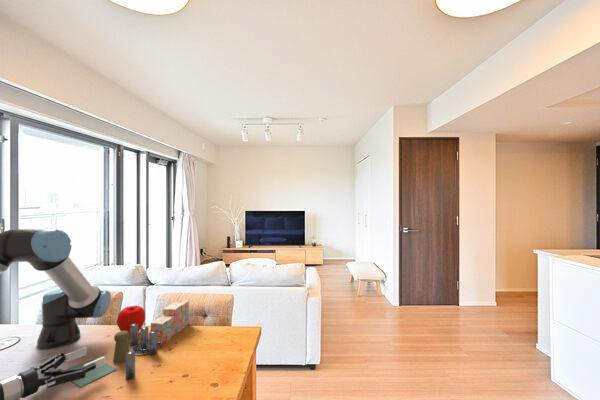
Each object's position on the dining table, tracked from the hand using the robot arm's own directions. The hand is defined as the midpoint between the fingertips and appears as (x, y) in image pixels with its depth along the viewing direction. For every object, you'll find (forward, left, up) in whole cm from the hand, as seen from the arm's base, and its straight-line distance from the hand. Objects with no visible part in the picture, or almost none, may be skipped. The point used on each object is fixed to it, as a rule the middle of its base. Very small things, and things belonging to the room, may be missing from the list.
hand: (94, 355), depth 109 cm
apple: (-18, +24, -6) cm, 30 cm away
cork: (0, +10, -6) cm, 12 cm away
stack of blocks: (-3, +35, -6) cm, 35 cm away
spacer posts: (+4, +12, -6) cm, 14 cm away
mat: (-2, -1, -6) cm, 7 cm away
